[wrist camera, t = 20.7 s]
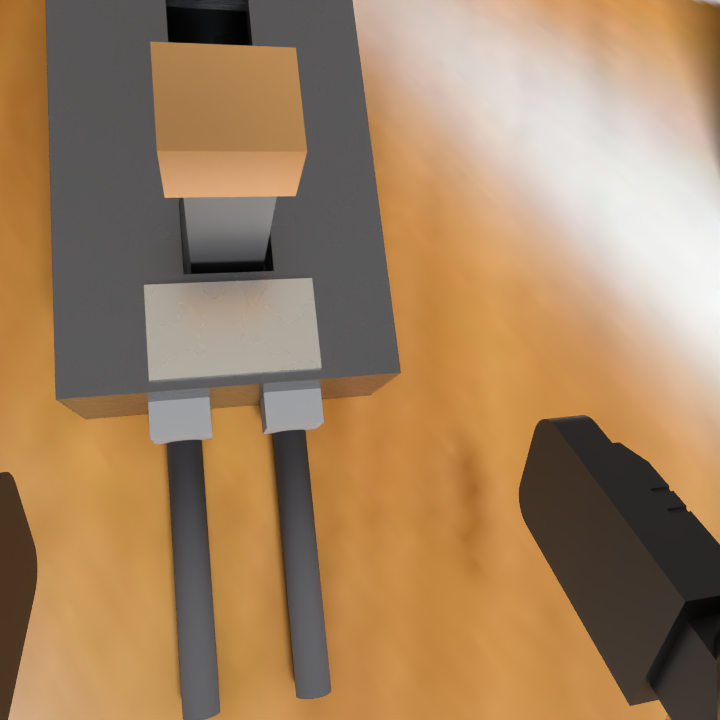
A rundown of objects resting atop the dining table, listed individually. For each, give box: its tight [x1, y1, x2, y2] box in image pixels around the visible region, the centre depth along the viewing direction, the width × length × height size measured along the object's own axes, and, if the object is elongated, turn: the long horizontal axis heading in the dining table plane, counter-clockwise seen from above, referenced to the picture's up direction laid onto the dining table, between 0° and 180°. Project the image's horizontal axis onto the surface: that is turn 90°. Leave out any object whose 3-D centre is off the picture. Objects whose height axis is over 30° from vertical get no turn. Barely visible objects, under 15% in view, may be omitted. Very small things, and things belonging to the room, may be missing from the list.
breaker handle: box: [150, 42, 307, 274], centre depth 26 cm, size 4×4×14 cm
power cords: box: [148, 388, 331, 720], centre depth 30 cm, size 14×8×4 cm, turn 6°
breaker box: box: [46, 0, 401, 419], centre depth 32 cm, size 24×14×6 cm, turn 6°
